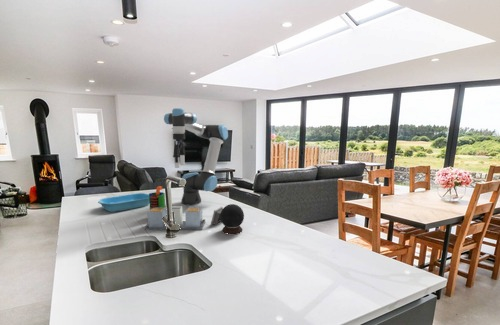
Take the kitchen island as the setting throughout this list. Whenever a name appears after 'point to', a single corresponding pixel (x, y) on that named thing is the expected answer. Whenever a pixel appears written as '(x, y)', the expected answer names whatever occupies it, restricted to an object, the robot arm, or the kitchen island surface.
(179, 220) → the block
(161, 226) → the rail
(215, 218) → the electrical switch
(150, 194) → the motor
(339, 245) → the kitchen island surface
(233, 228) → the black ball on stand
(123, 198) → the casserole dish
